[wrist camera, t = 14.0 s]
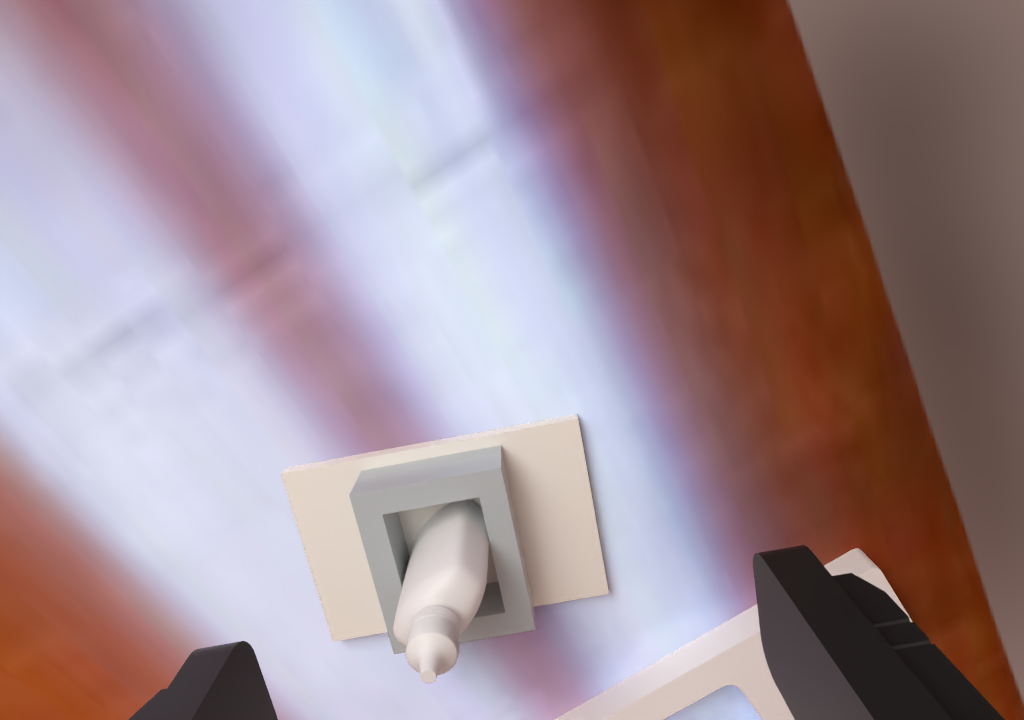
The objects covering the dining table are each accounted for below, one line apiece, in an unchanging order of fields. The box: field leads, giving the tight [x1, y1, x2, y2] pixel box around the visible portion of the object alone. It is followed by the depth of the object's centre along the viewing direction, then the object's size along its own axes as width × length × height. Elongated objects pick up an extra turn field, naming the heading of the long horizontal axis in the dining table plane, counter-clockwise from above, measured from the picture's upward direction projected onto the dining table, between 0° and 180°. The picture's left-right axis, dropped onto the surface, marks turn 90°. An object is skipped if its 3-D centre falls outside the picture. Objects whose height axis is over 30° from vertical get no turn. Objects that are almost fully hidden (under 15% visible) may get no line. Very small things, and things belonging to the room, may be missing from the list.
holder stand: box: [281, 414, 609, 654], centre depth 39 cm, size 12×18×4 cm, turn 101°
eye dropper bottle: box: [393, 499, 489, 683], centre depth 34 cm, size 4×6×12 cm
